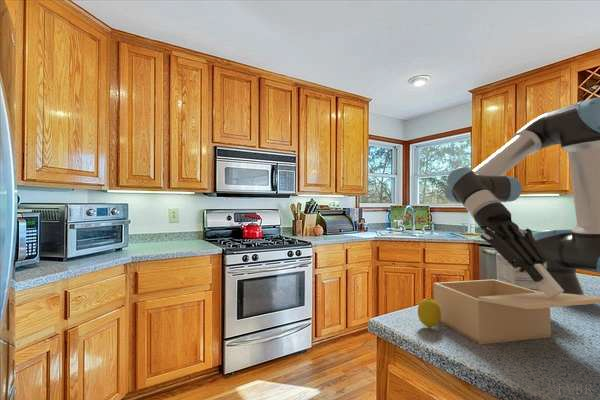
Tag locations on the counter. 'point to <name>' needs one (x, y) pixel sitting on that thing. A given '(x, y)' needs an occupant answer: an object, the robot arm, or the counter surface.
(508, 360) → the counter surface
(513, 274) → the supplement box
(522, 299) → the carton flap
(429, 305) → the lemon
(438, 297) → the carton
